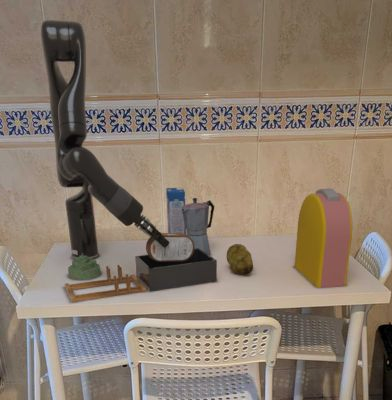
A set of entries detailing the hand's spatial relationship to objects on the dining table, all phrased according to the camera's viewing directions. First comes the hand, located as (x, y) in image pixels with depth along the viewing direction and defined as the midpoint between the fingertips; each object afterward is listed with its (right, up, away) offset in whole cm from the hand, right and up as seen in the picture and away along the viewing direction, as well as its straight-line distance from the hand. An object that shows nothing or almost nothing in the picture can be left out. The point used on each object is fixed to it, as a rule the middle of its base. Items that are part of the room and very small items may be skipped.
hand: (165, 243), depth 150 cm
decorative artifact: (-27, -8, +11) cm, 30 cm away
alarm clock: (+48, -9, +8) cm, 49 cm away
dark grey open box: (+3, -10, +6) cm, 12 cm away
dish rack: (-18, -14, -1) cm, 23 cm away
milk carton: (+2, +9, +43) cm, 44 cm away
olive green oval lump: (+23, -7, +13) cm, 27 cm away
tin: (+1, -5, +3) cm, 6 cm away
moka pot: (+10, +2, +30) cm, 32 cm away
